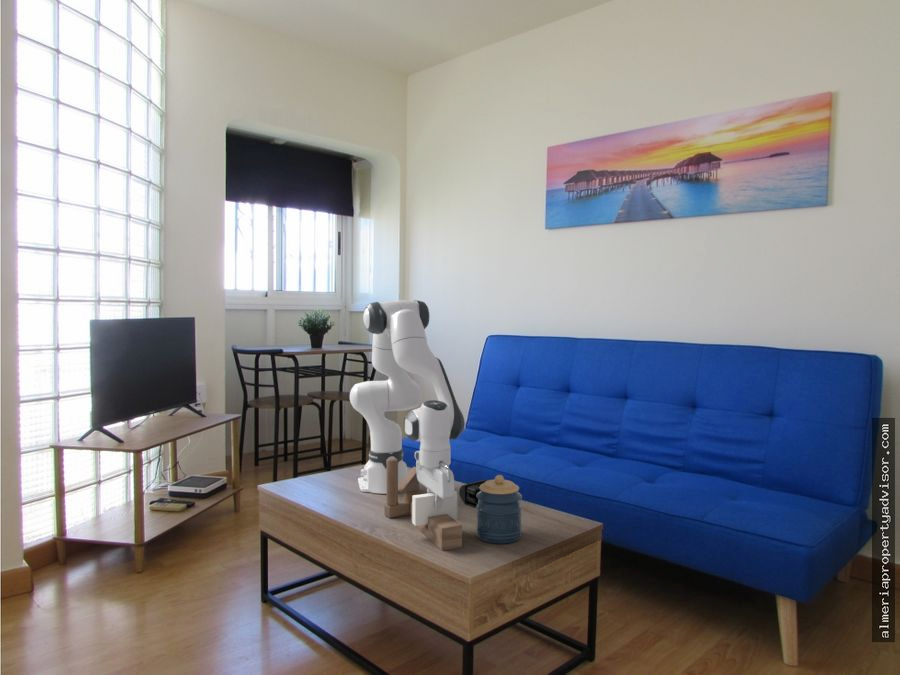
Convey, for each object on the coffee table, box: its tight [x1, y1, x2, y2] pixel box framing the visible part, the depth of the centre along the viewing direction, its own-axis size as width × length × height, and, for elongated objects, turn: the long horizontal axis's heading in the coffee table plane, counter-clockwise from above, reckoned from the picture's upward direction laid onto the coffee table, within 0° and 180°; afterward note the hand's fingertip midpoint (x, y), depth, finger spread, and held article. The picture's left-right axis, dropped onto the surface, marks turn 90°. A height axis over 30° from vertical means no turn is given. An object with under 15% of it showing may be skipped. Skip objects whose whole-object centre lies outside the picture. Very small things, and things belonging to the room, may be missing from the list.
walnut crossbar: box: [410, 502, 463, 551], centre depth 179 cm, size 24×6×6 cm, turn 24°
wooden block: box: [384, 458, 420, 519], centre depth 195 cm, size 4×11×18 cm, turn 123°
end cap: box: [458, 479, 488, 509], centre depth 208 cm, size 10×7×7 cm
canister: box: [475, 474, 523, 545], centre depth 177 cm, size 13×13×18 cm
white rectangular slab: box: [411, 491, 458, 527], centre depth 178 cm, size 13×2×8 cm, turn 114°
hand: (435, 505), depth 178 cm, fingers closed on white rectangular slab, 2 cm apart
